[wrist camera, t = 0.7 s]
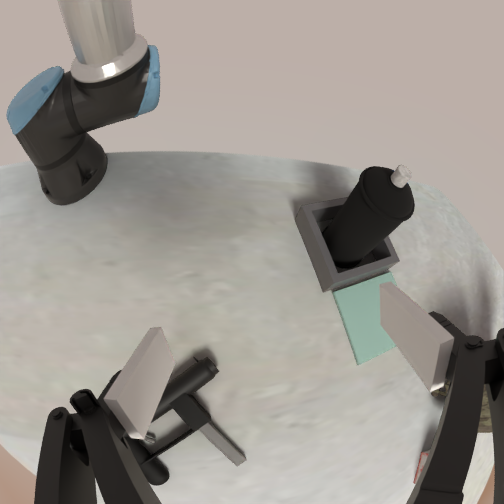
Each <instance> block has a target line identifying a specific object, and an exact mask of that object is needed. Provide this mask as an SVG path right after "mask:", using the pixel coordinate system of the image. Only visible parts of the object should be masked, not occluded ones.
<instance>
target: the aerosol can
mask: <svg viewBox="0 0 504 504" xmlns="http://www.w3.org/2000/svg"><path fill="white" fill-rule="evenodd" d="M411 177H412V174H411V172H410V170H409V169H408V168H407V167H406V166H403V165H399V166H398V167H397V169H396V170H395V171H394V170H392V169H389V168H384V167H376V166H373V167H369V168H366V169H365V170H364V171H363V172H362V173H361V175H360V178H359V182H358V183H357V185H356V186H355V188H354V189H353V191H352V192H351V194H350V195H349V197H348V198H347V200H346V201H345V203H344V204H343V206H342V207H341V209H340V210H339V212H338V213H337V215H336V216H335V218H334V219H333V220H332V222H331V223H330V225H329V226H328V227H326V228H325V229H324V231H323V232H322V236H323V238H324V240H325V243H326V245H327V248H328V250H329V252H330V255H331V257H332V260H333V262H334V265H335V266H337V267H340V268H352V267H355V266H357V265H358V264H359V263H360V262H361V261H362V259H363V258H364V257H365V256H366V255H367V254H368V253H369V252H370V251H372V250H373V249H374V248H375V247H376V246H377V245H378V244H379V243H380V242H382V241H383V240H384V239H385V238H386V237H387V236H388V235H389V234H390V233H391V232H392V231H393V230H395V229H396V228H397V227H398V226H399V225H400V224H401V223H402V222H403V221H406V220H408V219H409V218H410V217H411V216H412V214H413V212H414V206H415V204H414V198H413V195H412V191H411V188H410V186H409V184H408V183H407V182H408V181H409V180H410V178H411Z"/></svg>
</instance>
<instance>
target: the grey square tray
mask: <svg viewBox="0 0 504 504" xmlns="http://www.w3.org/2000/svg"><path fill="white" fill-rule="evenodd" d="M347 198H348V197H346V198H340V199H335V200H329V201H323V202H318V203H312V204H307V205H302V206H301V208H300V210H299V212H298V214H297V217H296V219H295V222H296V224H297V227H298V229H299V232H300V234H301V236H302V239H303V241H304V244H305V246H306V249H307V251H308V254H309V257H310V259H311V262H312V264H313V267H314V269H315V272H316V275H317V277H318V280H319V283H320V285H321V288H322V291H323V292H326V291H329V290H332V289H335V288H338V287H341V286H344V285H347V284H350V283H353V282H356V281H359V280H362V279H364V278H367V277H370V276H373V275H376V274H378V273H381V272H384V271H386V270H388V269H389V268H391V267H392V266H393V265H395V264H396V263H398V262H399V258H398V256H397V254H396V252H395V249H394V247H393V245H392V243H391V241H390V239H389V236H387V237H386V238H385V239H384V240H383V241H382V242H380V243H379V244H378V245H377V246H376V247H375V248H374V249H373V250H372V253H373V255H374V257H375V260H376V262H373V263H369V264H366V265H363V266H360V267H357V268H354V269H351V270H348V271H345V272H341V273H338V272H337V270H336V267H335V265H334V262H333V260H332V257H331V255H330V252H329V250H328V248H327V245H326V243H325V240H324V238H323V236H322V233H321V231H320V229H319V227H318V224H317V222H320V221H324V220H329V219H334V218H335V216H336V215H337V213H338V212H339V210H340V209H341V207H342V206H343V204H344V203H345V201H346V200H347Z"/></svg>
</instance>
